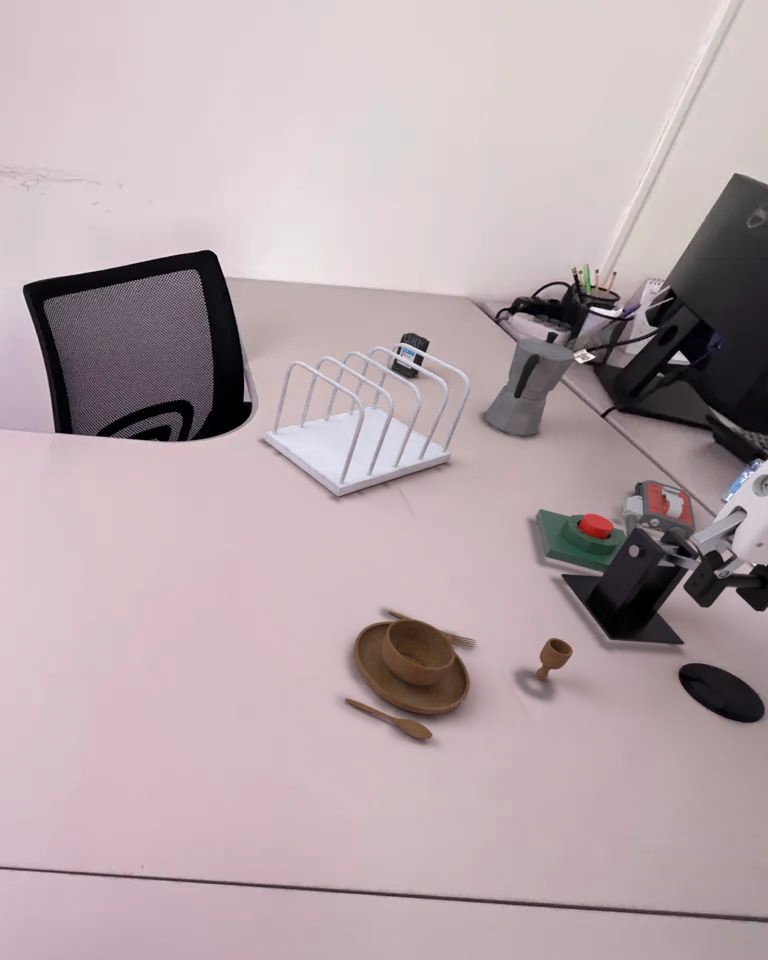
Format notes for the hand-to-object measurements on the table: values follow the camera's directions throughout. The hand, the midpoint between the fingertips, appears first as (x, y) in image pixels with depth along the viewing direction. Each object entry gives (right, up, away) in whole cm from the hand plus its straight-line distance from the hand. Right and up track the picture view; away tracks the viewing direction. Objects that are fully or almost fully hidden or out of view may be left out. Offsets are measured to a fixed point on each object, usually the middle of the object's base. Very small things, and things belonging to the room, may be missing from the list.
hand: (722, 598), depth 70 cm
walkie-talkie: (+17, +5, +31) cm, 36 cm away
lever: (0, +2, +4) cm, 4 cm away
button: (+2, +5, +22) cm, 23 cm away
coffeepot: (+8, +22, +54) cm, 59 cm away
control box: (+1, +2, +24) cm, 24 cm away
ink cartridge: (-5, +34, +69) cm, 78 cm away
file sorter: (-24, +17, +41) cm, 51 cm away
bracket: (-1, -4, +14) cm, 15 cm away
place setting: (-28, -10, +2) cm, 30 cm away
